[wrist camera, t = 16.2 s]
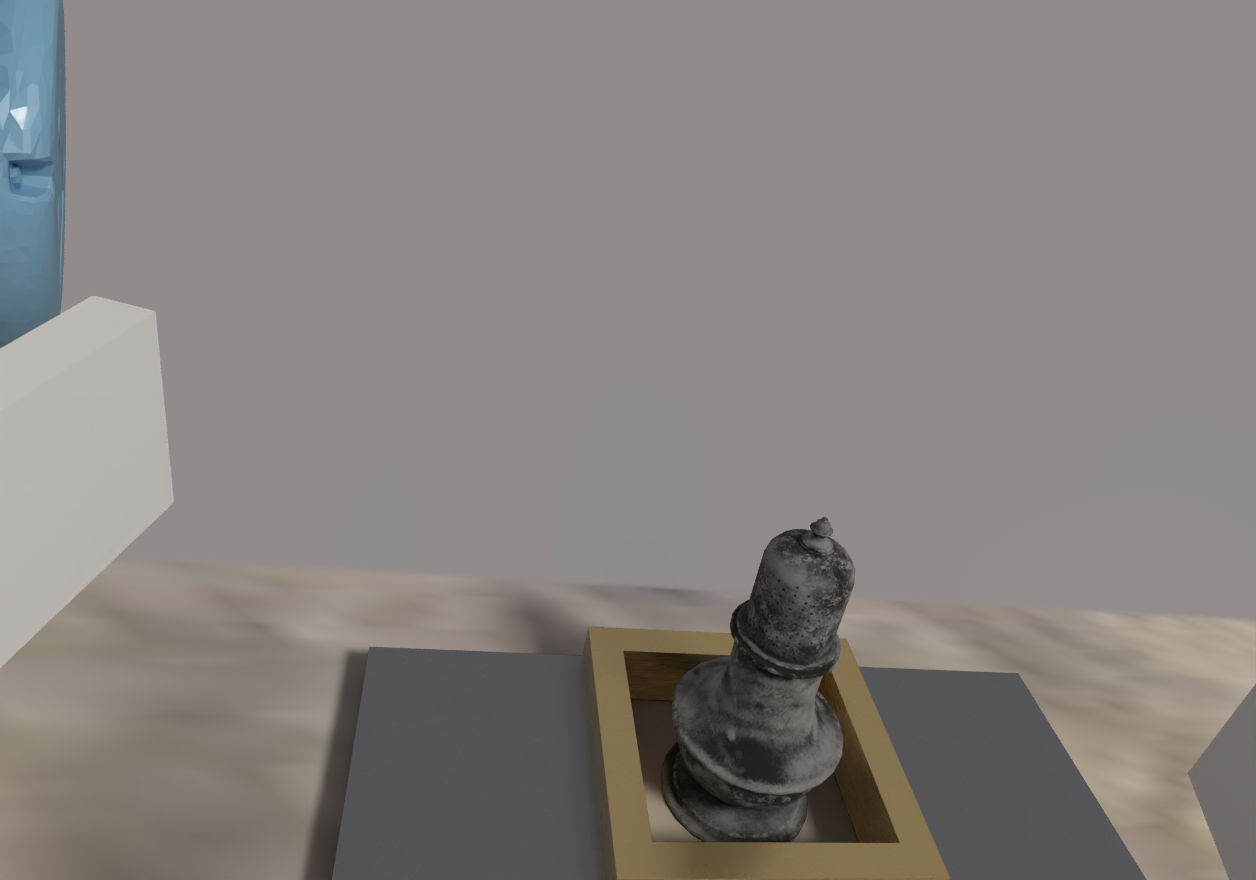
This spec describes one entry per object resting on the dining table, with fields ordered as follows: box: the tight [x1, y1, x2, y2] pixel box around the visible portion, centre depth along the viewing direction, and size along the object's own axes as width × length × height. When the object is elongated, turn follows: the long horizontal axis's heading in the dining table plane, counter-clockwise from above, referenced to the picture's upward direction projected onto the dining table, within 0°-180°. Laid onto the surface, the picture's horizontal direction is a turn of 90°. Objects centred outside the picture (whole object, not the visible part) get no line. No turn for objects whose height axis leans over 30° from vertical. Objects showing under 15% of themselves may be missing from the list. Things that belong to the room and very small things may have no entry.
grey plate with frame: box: [332, 627, 1146, 880], centre depth 33 cm, size 26×10×2 cm, turn 97°
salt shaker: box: [661, 517, 855, 843], centre depth 31 cm, size 6×6×12 cm
